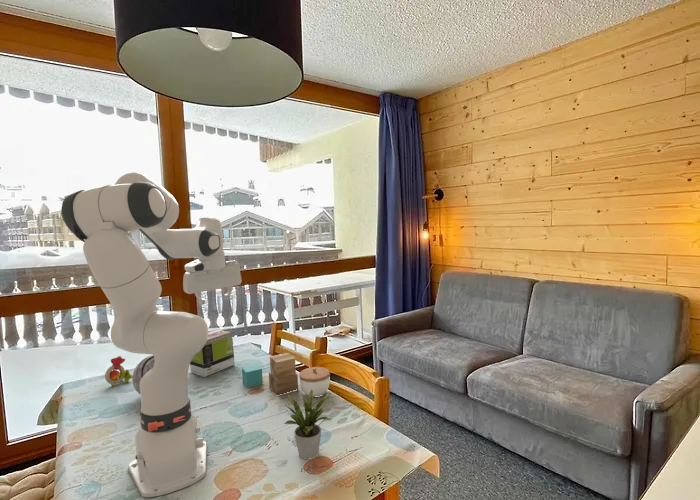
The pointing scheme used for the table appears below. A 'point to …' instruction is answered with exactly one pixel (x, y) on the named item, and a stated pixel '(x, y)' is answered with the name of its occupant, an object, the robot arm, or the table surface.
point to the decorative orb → (142, 371)
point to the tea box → (214, 354)
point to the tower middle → (282, 365)
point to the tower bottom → (283, 384)
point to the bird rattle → (117, 372)
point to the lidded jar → (315, 380)
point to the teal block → (252, 375)
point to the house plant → (307, 425)
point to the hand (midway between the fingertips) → (215, 301)
